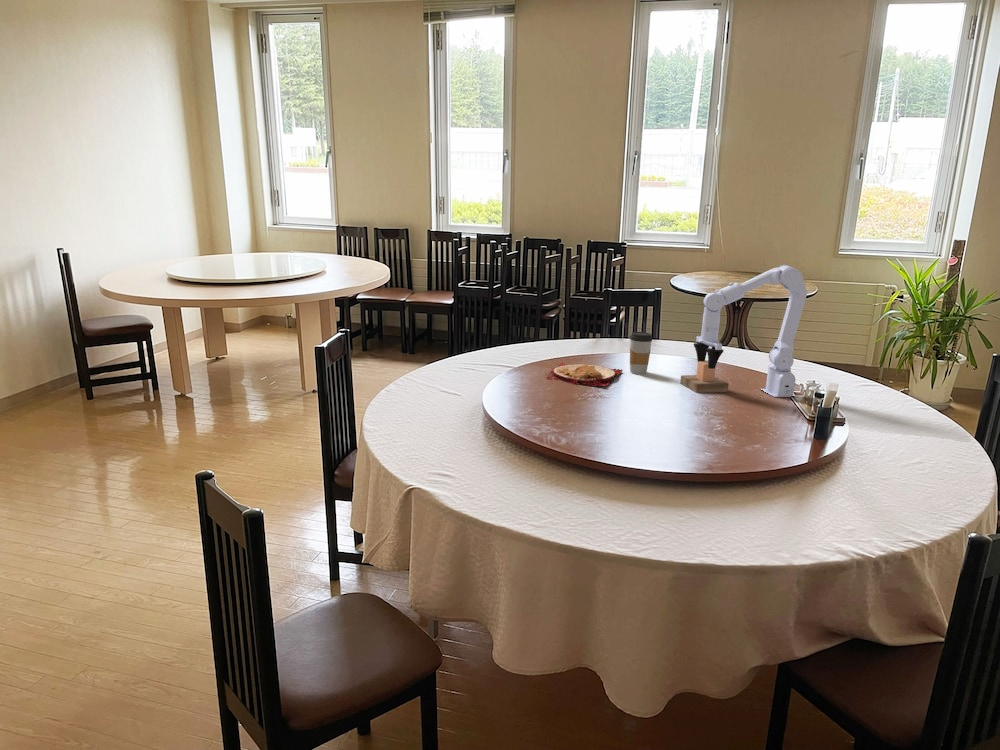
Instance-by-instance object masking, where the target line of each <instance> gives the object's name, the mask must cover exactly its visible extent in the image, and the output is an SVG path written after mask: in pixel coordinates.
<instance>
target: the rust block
mask: <svg viewBox="0 0 1000 750" xmlns="http://www.w3.org/2000/svg"><path fill="white" fill-rule="evenodd" d="M716 367H717V366H716ZM716 367H715V369H709V368H708V360H707V361H706V360H705V361H698V360H697V369H696V375H697V376H696V378H697V379H699V380H701V381H714V377H716V376H715V375H716Z"/></svg>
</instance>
